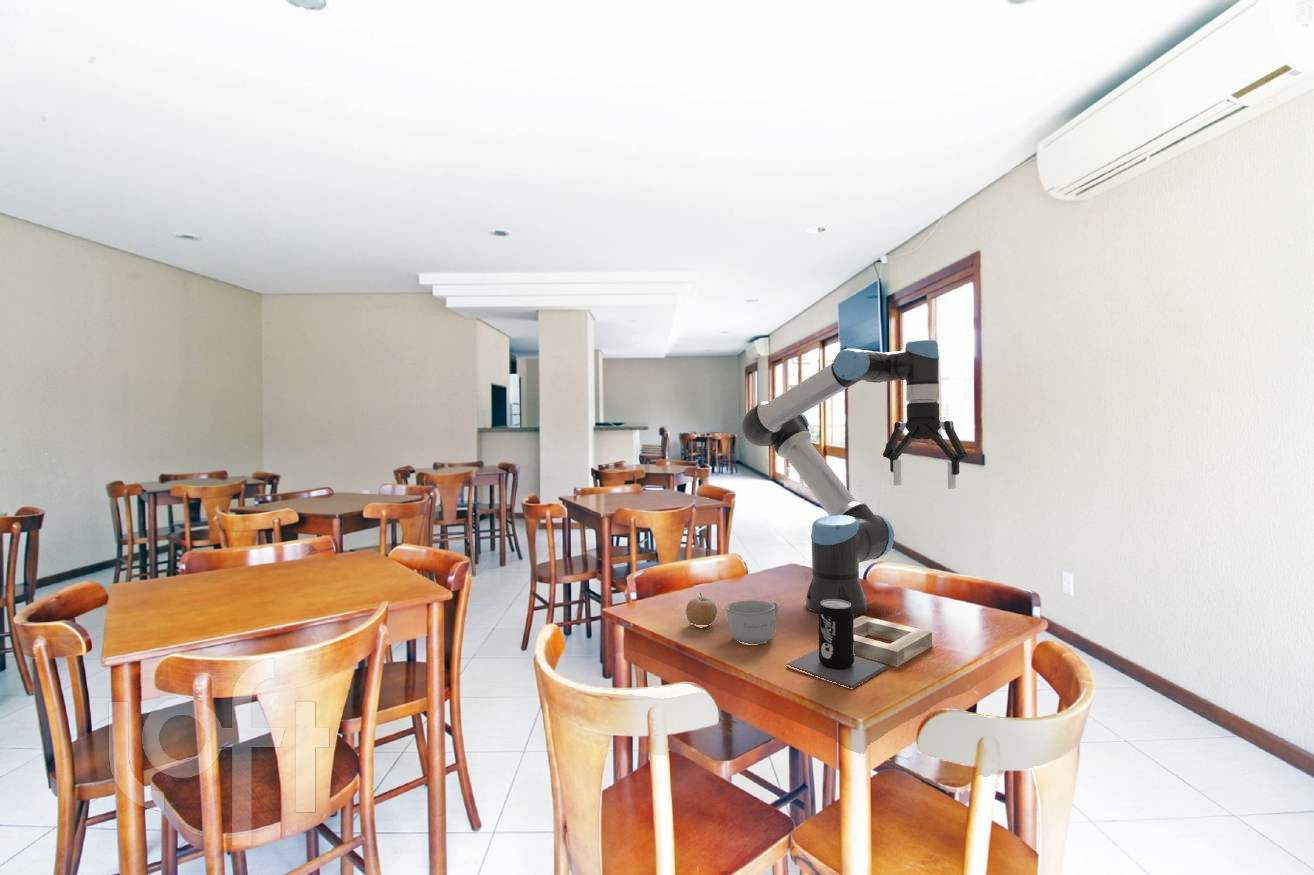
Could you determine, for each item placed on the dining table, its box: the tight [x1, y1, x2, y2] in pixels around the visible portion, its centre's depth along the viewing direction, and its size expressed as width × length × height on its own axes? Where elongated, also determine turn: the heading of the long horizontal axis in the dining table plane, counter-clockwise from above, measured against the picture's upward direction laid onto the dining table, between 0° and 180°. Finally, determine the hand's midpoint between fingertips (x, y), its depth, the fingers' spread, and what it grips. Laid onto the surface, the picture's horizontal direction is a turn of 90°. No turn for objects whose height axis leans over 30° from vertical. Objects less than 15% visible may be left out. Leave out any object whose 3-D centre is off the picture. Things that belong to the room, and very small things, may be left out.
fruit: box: [685, 592, 718, 625], centre depth 144 cm, size 8×7×8 cm
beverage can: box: [817, 599, 855, 670], centre depth 117 cm, size 7×7×12 cm
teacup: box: [725, 599, 779, 645], centre depth 134 cm, size 14×11×8 cm
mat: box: [786, 648, 887, 689], centre depth 117 cm, size 14×13×1 cm
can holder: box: [853, 615, 933, 668], centre depth 129 cm, size 16×16×3 cm
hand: (923, 486), depth 151 cm, fingers open, 13 cm apart
